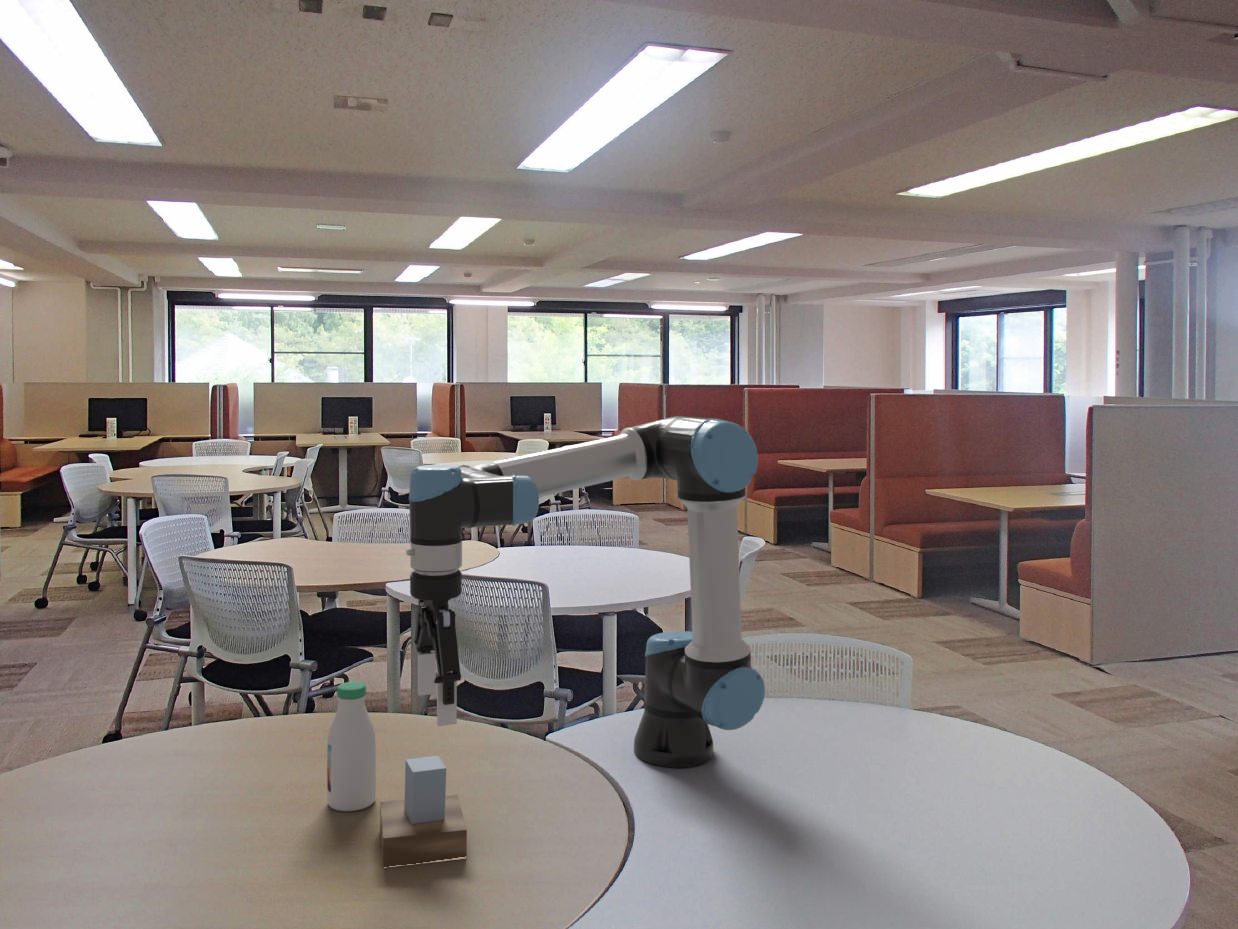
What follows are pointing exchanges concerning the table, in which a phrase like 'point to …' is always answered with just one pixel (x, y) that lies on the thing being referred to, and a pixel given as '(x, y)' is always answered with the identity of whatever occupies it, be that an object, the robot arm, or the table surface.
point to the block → (425, 789)
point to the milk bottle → (351, 752)
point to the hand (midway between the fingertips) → (436, 708)
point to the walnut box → (421, 835)
